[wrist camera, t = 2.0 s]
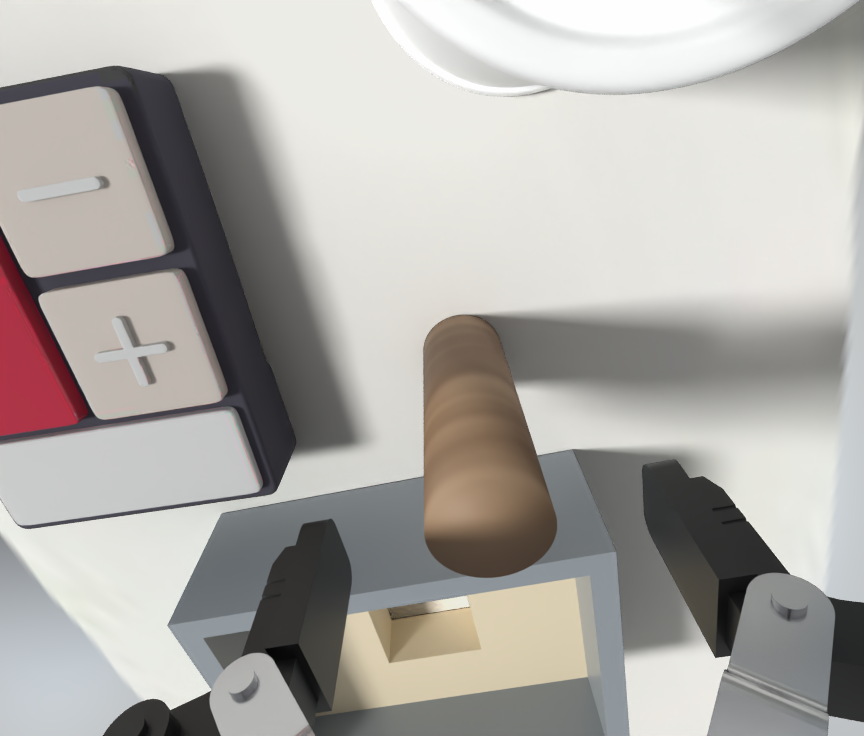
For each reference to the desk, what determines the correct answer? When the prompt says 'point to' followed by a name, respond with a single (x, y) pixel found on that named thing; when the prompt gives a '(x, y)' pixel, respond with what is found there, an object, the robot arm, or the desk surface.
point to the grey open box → (434, 618)
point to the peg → (479, 457)
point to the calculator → (121, 313)
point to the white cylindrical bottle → (596, 40)
